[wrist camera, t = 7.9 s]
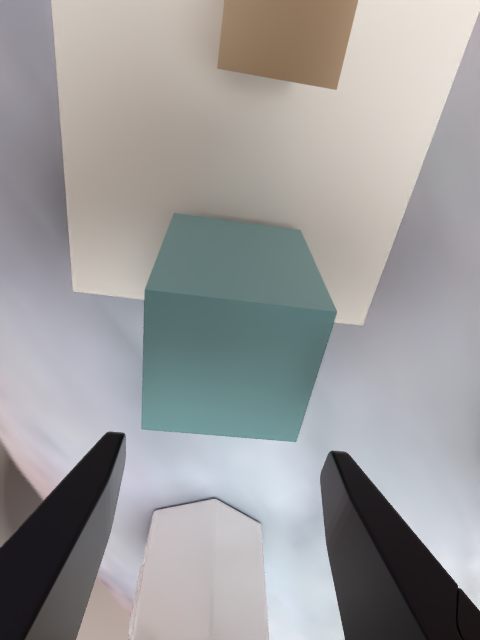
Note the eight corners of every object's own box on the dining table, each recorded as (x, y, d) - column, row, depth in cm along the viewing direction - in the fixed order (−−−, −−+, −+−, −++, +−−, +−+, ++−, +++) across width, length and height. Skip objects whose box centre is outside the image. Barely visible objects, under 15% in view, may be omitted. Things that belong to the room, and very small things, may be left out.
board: (479, -2, 13) (485, -4, 13) (360, 322, 20) (362, 325, 20) (47, -93, 12) (44, -96, 12) (75, 288, 19) (72, 291, 19)
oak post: (311, -10, 13) (375, -73, 7) (293, 82, 14) (336, 89, 9) (232, -27, 13) (234, -105, 7) (222, 69, 14) (217, 68, 8)
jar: (155, 488, 27) (110, 743, 17) (271, 504, 28) (296, 750, 18) (139, 558, 31) (96, 792, 21) (240, 569, 33) (245, 795, 22)
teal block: (300, 230, 17) (337, 311, 11) (276, 333, 19) (296, 441, 14) (174, 213, 16) (144, 289, 10) (167, 322, 19) (141, 429, 13)
